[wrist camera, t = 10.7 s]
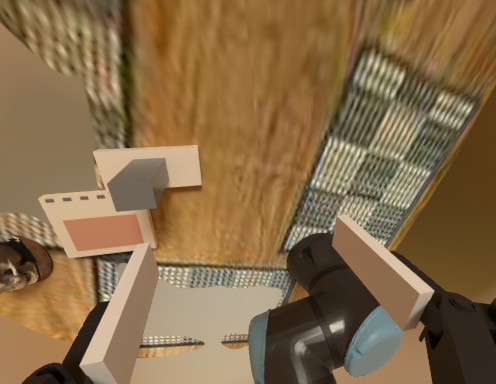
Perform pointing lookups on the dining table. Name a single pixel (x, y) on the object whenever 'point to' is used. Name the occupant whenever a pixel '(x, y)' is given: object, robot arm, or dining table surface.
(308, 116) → the dining table surface
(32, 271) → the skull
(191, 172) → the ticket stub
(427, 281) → the robot arm
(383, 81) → the dining table surface
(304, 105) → the dining table surface
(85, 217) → the white flat piece
